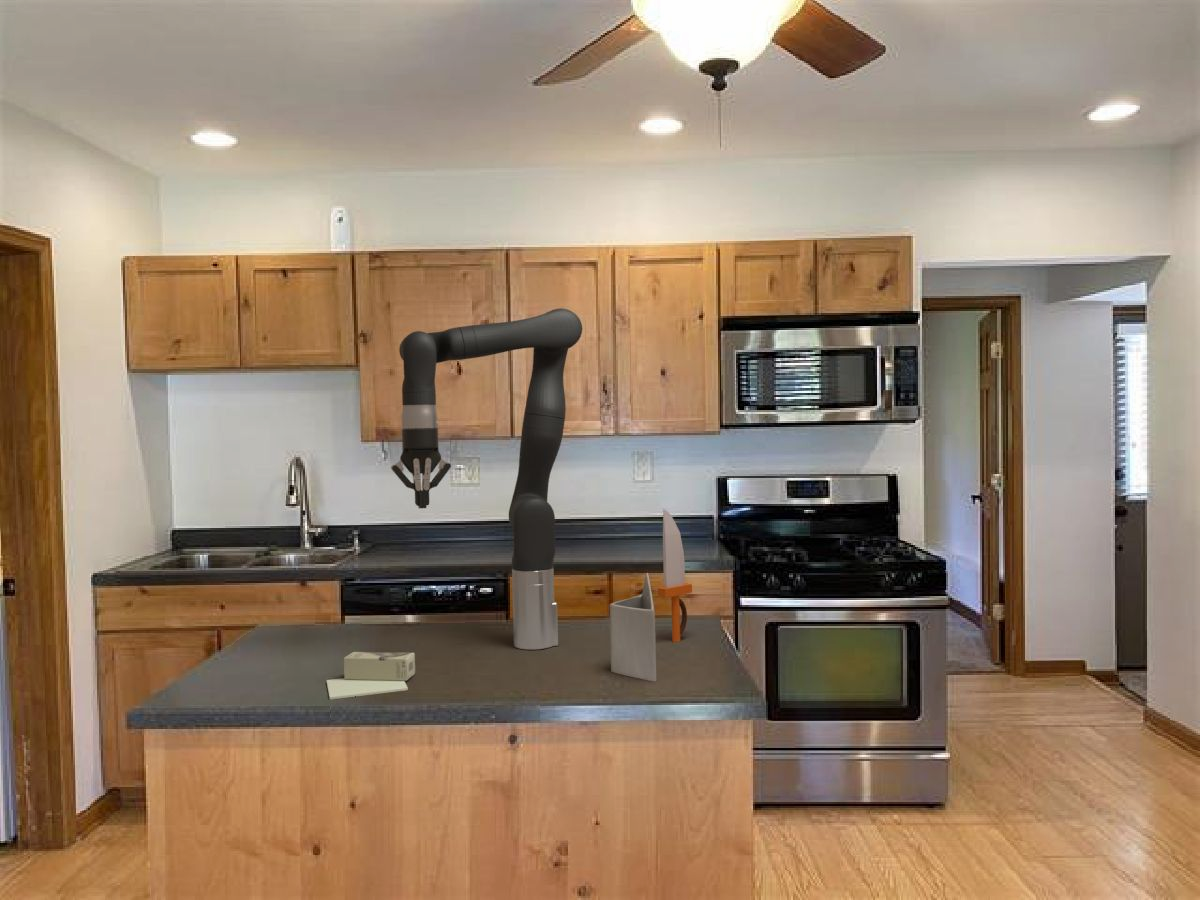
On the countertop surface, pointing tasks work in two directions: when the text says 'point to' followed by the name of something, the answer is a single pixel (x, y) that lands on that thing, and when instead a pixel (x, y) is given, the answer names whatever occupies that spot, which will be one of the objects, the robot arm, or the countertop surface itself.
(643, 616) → the planter
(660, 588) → the knife
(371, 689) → the sage mat
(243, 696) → the countertop surface
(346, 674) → the box
